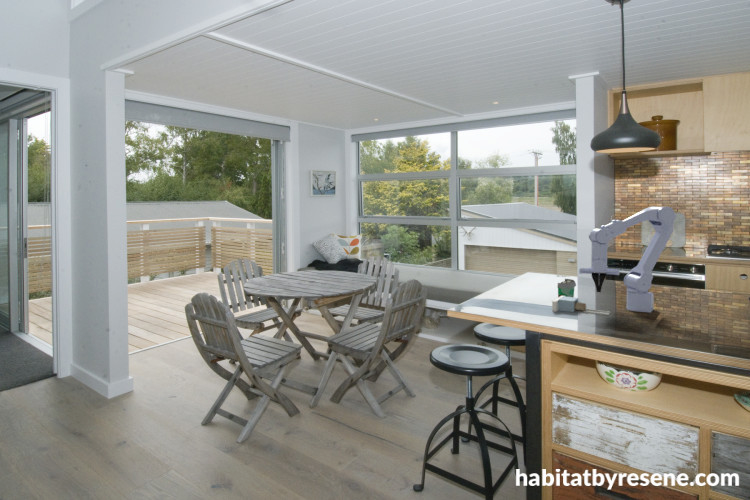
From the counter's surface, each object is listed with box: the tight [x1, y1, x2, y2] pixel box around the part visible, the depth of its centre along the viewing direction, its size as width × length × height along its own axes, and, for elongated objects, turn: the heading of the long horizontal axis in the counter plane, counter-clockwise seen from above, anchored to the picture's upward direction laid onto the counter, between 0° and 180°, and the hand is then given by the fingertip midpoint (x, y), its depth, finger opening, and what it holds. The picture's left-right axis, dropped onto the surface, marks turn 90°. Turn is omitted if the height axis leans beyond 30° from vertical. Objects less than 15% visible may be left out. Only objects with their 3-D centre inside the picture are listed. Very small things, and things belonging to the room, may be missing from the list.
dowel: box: [574, 302, 587, 312], centre depth 194 cm, size 8×3×3 cm, turn 52°
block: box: [558, 296, 579, 313], centre depth 195 cm, size 6×7×6 cm
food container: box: [557, 278, 577, 298], centre depth 211 cm, size 12×6×10 cm, turn 143°
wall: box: [551, 296, 563, 313], centre depth 197 cm, size 2×12×6 cm, turn 141°
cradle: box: [582, 308, 611, 316], centre depth 188 cm, size 9×5×2 cm, turn 51°
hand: (598, 291), depth 189 cm, fingers closed
